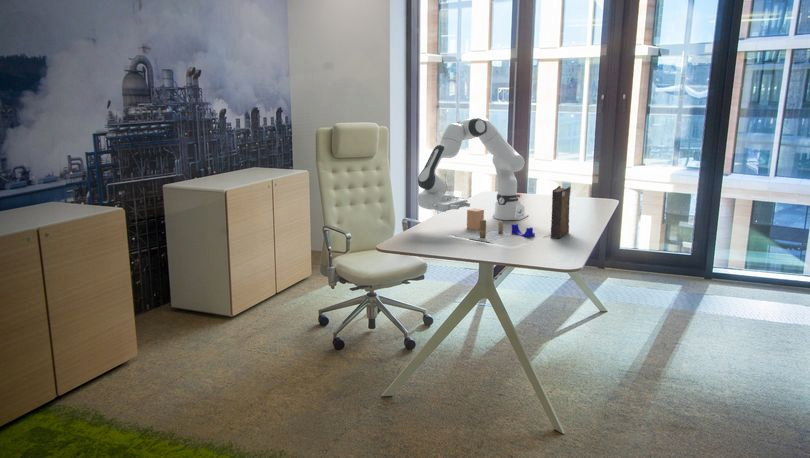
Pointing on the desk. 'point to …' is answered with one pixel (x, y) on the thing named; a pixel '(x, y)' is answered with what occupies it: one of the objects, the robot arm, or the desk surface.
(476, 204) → the desk surface
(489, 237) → the board
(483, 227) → the pin
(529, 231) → the cable clip
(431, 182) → the robot arm
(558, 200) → the book
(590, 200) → the desk surface
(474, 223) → the block
